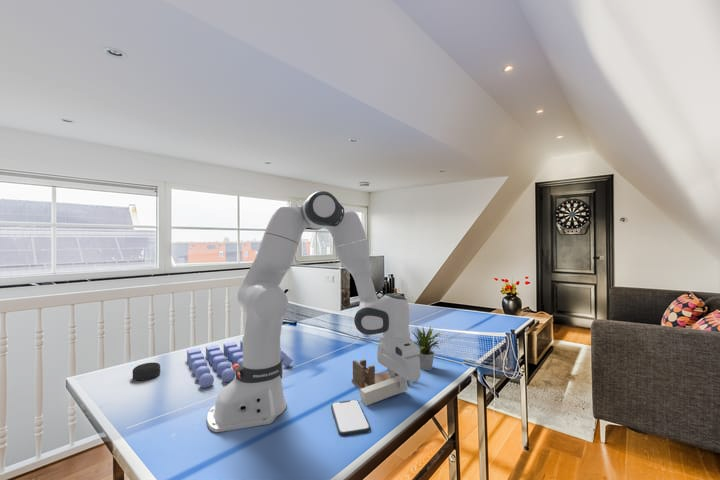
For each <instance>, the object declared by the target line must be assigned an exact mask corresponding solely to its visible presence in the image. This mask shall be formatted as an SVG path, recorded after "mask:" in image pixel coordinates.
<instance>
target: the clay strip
mask: <svg viewBox="0 0 720 480" xmlns="http://www.w3.org/2000/svg"><path fill="white" fill-rule="evenodd" d="M399 381H400V378H399V376H396V377H393V378H390V379H387V380H384V381H382V382H379V383H376V384H373V385H370V386H367V387H365V388H362V389H359V393H360V402H361V403H362V404H363V405H365V406H369V405H372V404H374V403H377V402H380V401H382V400H385V399H388V398H390V397H393V396H395V395H398V394H401V393H403V392H405V391H408V390H409V388H408V387H409V385H408V381H407V380H406V382H405V388H402V389H401V388H399V387H398V382H399Z"/></svg>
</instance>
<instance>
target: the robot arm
mask: <svg viewBox="0 0 720 480" xmlns="http://www.w3.org/2000/svg"><path fill="white" fill-rule="evenodd" d="M322 229H326V230H327V231H329V234H331V237H332V240H333V245H334V248H335V249H334V250H335V253H336V256H337V259H338V260H339V262H340V265H341V266H342V267H343V268H344V269H345V270H347V271H348V273H350V274H351V276H352V278H353V280H354V283H355V286H356V292H357V295H358V298H359V306H358V309H357V310H356V313H355V315H354V319H353V320H354V327H356V329H357V331H358V332H359V333H361V334H363V335H366V336H371V335H378V334H382V336H381V337H380V338H379V343H378V344H377V354H376V356H377V358H376V359H377V362H378V363H379V364H380V365H382V366H384V367H385V368H387V371H388V373H389V376H390V378H393V377H396V376H395V373H396V374H398V375H399V378H400V381H399V382H398V387H399V388H401V389H402V388H405V382H406V380H407V382H408V383H414V382H418V381H419V379H420V378H421V369H420V359H419V356H418V354H420V348H419V346H418V345H416V344H415V343H414V342H415V341H414V342H413V339H412V338H411V332H410V328H409V326H410V323H411V317H410V316H411V315H410V307H409V301H408V300H407V298H406V297H405V296H403V295H401V294H398V293H392V292H391V293H390V292H389V293H385V294H384V295H383V296H382V297H380V298H379V296H378V294H377V292H376V288H375V284H374V281H373V277H372V274H371V273H372V272H371V262H370V261H371V260H370V248H369V243H368V238H367V233H366V232H365V228H364V225H363V223H362V221H361V218H360V217H359V215H358V213H357V212H355V211H354V210H350V209H345V207H344V206H343V205H342V204H341V203H340V202H339V201H338V199H337V198H336V196H334V195H333V194H332V193H330V192H328V191H325V190H319V191H315V192H313V193H311V194H310V195H309V196H308V197H307V198H306V199H305V200H304V201H303V202H302V203H301V205H299V206H295V205H292V204H281V205H279V206H278V207H277V208H276V209H275V210H274V212H273V213H272V216H271V217H270V219H269V222H268V224H267V226H266V228H265V231H264V233H263V236H262V238H261V242H260V244H259V247H258V250H257V253H256V256H255V257H254V258H255V259H254V260H253V262H252V264H251V266H250V268H249V269H248V270H247V273H246V275H245V277H244V280H243V282H242V284H241V285H240V286H239V288H238V289H237V290H238V291H237V303H238V305H239V306H240V308H241V309H242V310H243V311H244V312H245V314H246V315H245V316H246V317H245V318H246V319H245V320H246V321H245V328H244V333H243V336H242V343H243V363H242V364H241V365H240V366H239V365H238V364H237V363H236V364H234V365H233V364H232V367H231V369H233V371H234V372H235V378H234V380H233V381H231V382H228V384H227V385H225V386H224V387H223V388H222V389H221V390H219V392H218V394H217V397H216V401H215V404H214V406H212V407H211V408H210V409H209V410H208V411H207V415H206V424H207V427H208V429H209V430H210V431H211V432H213V433H220V432H226V431H227V432H228V431H233V430H239V429H246V428H251V427H257V426H263V425H269V424H272V423H273V422H274V421H275V419H276V418H277V417H278V416H280V415H281V414H282V413H283V412H284V411H285V410H286V408H287V401H286V399H285V395H284V389H283V382H282V379H283V364H282V360H281V359H280V348H281V334H282V327H283V323H284V316H285V315H286V313H287V311H288V308H289V299H288V296H287V294H286V293H285V291H284V290H283V289H282V288H281V287H280V285H281V282H282V281H283V279H284V277H285V276H286V274H287V273H288V272H289V271H290V270H291V268H292V266H293V262H294V259H295V256H296V253H297V251H298V247H299V244H300V240H301V237H302V235H303V233H304V231H305V230H307V231H308V230H309V231H311V230H312V231H316V230H317V231H318V230H322Z"/></svg>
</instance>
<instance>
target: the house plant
mask: <svg viewBox="0 0 720 480" xmlns="http://www.w3.org/2000/svg"><path fill="white" fill-rule="evenodd" d="M416 330H417V333H416V334H415V332H413V331H411V333H412V334H413V335H414V336H415V338H416V339H417V341H415V340H414V341H413V342H414V343H415V344H416V345H417V346H418V347H419V348H420V354H418V356H419V359H420V370H423V371H430V370H432V369H433V364H434V358H435V357H434V356H435V352H434V350H432V349H434V348H435V347H437V348H438V349H440V346H439V345H438V344H439V342H441V340H440V339H439V340H436V341H435V338H437V337H438V338H439V336H442V334H440V333H443V331H440V332H437V333H436V334H434V335H432V334H433V330H434V328H432V327H431V326H430V327H429V328H428V331H427V333H426V332H425V328H424V326H423V325H422V331H421V330H420V329H419V328H418V327H416Z"/></svg>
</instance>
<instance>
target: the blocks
mask: <svg viewBox="0 0 720 480" xmlns="http://www.w3.org/2000/svg"><path fill="white" fill-rule="evenodd" d="M239 341H240V342H239V344H240V345H239V346H238V344H237V343H236V342H235V341H231V342H225V343H223V345H222V346H223V350H221V348H220V346H219V345H218V344H215V345H208V346H205V356H204V354H203V353H202V350H201V348H200V347H198V348H191V349H186V354H187V355H186V361H187V364H188V363H190V364H189V368H190V369H191V371H192V374H193V375H194V376H195V379H196V381H198V385H199V386H200V388H202V389H206V388H210V387H212V385H213V384H214V381H215V378H214V375H212V373H211V369H210V368H209V366H208V362H210V363H209V364H210V366H212V368H213V370H214V371H216V373H217V376H219V377H221V381H222V382H224V383H226V384H227V383H230V382H232V381H233V380H234V379H235V378H236V374H235V372H234V371H233V368H232V367H231V366H233V365H234V364H236V363H237V364H238V365H239V366H240V365H241V364H242V363H243V343H242V340H239ZM225 355H226V356H225ZM206 357H207V358H206ZM205 358H206V359H207V360H208V359H209V360H208V362H207V361H206V359H205ZM280 359H281V360H282V366H285V367H286V368H288V367H289V366H290V365H291V363H292V362H293V361H294V360H293V359H292V358H291V357H290V356H288V354H287V353H285V352H284V351H283V350H282V349H281V347H280ZM228 361H229V362H231V363H232V365H231V364H230V363H229V362H228Z"/></svg>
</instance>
